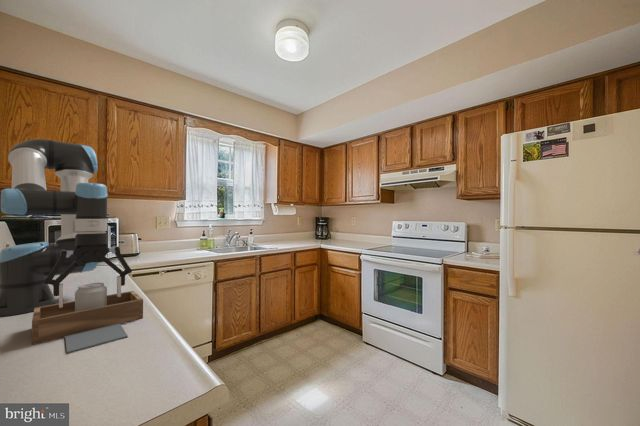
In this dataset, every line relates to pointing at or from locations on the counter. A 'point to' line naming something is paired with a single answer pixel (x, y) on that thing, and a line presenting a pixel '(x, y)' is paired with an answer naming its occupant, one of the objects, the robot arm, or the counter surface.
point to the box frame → (84, 317)
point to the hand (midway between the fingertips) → (91, 301)
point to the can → (90, 296)
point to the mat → (94, 337)
